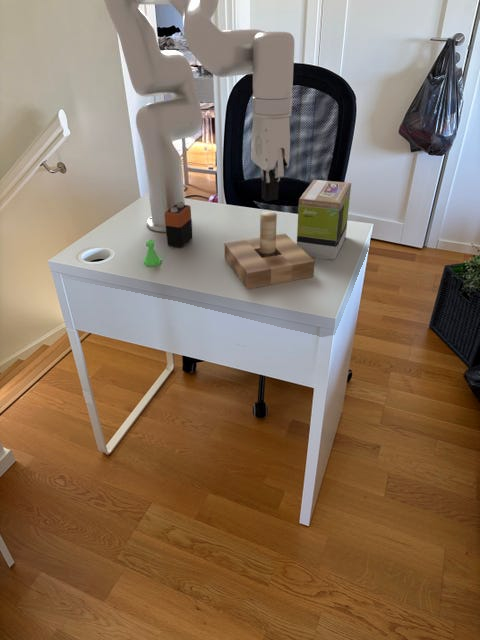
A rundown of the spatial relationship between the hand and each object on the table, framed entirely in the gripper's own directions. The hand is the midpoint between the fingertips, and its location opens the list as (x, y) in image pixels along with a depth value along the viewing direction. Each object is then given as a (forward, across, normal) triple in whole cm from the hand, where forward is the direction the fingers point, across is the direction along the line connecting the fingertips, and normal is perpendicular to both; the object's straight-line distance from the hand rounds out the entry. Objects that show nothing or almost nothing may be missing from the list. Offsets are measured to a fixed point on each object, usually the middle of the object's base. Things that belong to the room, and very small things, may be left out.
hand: (269, 199), depth 100 cm
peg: (+17, 0, 0) cm, 17 cm away
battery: (+17, -21, -16) cm, 31 cm away
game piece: (+17, -12, -25) cm, 33 cm away
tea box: (+17, -6, +17) cm, 25 cm away
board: (+17, 0, 0) cm, 17 cm away
